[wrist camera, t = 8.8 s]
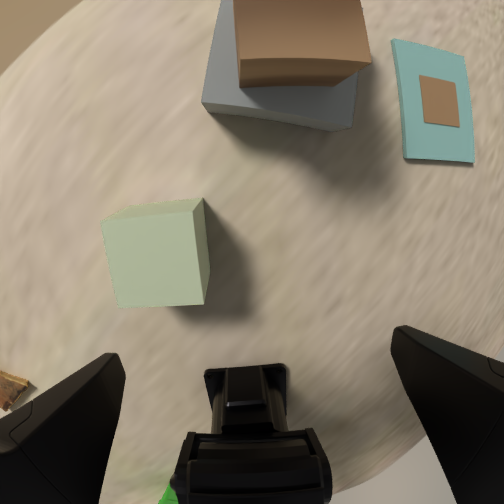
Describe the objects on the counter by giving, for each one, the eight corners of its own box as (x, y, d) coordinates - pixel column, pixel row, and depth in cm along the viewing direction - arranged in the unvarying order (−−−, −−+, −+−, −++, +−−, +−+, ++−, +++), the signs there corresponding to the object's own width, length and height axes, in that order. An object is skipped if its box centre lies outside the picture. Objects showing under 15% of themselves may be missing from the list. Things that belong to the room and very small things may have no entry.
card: (470, 162, 19) (475, 162, 19) (403, 157, 19) (407, 158, 18) (460, 57, 16) (464, 56, 16) (390, 40, 16) (394, 38, 16)
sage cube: (210, 270, 21) (203, 304, 16) (141, 275, 21) (118, 308, 16) (203, 197, 19) (192, 211, 15) (130, 205, 19) (100, 221, 15)
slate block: (330, 132, 19) (351, 127, 15) (208, 112, 18) (201, 102, 14) (342, 29, 16) (363, 7, 13) (227, 8, 16) (226, -20, 12)
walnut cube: (333, 86, 14) (371, 62, 9) (239, 88, 14) (240, 59, 9) (323, 9, 13) (351, -33, 8) (233, 8, 13) (232, -40, 8)
